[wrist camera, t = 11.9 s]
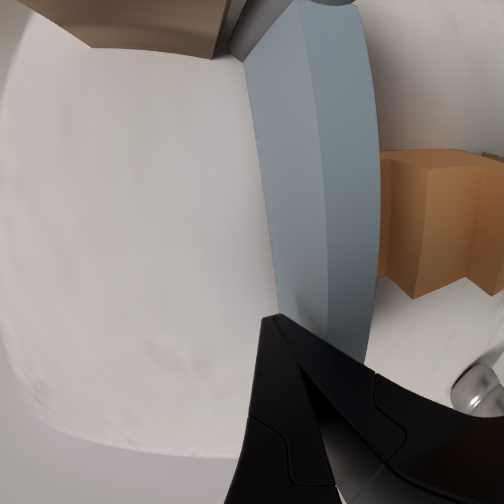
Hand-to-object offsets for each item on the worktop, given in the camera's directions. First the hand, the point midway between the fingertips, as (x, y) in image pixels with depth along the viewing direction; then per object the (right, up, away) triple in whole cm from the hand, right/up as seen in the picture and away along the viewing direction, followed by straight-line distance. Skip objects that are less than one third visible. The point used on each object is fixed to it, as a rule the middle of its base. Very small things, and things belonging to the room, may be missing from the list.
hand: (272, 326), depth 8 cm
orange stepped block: (+6, +4, +4) cm, 9 cm away
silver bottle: (+26, -13, +17) cm, 34 cm away
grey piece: (+1, +4, +3) cm, 5 cm away
